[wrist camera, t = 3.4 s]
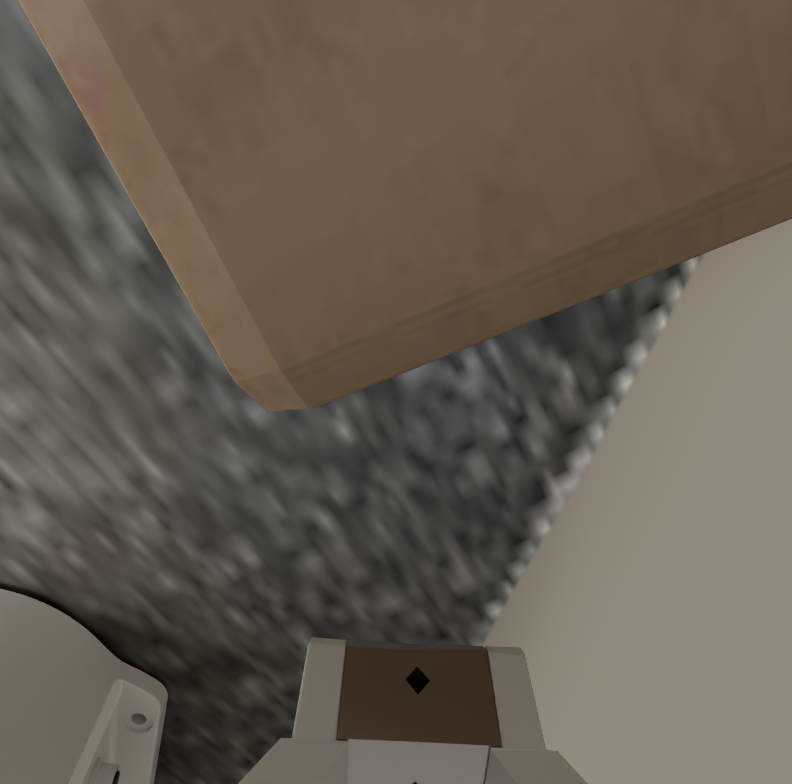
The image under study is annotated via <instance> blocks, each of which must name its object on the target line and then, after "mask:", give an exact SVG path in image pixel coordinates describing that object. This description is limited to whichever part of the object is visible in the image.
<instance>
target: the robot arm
mask: <svg viewBox="0 0 792 784" xmlns="http://www.w3.org/2000/svg"><path fill="white" fill-rule="evenodd" d="M167 700H168V693H167V690H166V688H165V687H164V686H163V685H162V683H160V682H159V681H158V680H156V679H155V678H153V677H151V676H150V675H148V674H146V673H144V672H142V671H140V670H138V669H136V668H134V667H132V666H130V665H128V664H126V663H124V662H122V661H121V660H119V659H118V658H117V657H115V656H114V655H113V654H112V653H111V652H110V651H109V650H108V649H107V648H106V647H105V646H104V645H103V644H102V643H101V642H100V641H99V640H98V639H97V638H96V637H95V636H94V635H93V634H92V633H90V632H89V631H88V630H87V629H86V628H84V627H83V626H82V625H81V624H79V623H78V622H76V621H75V620H74V619H72V618H71V617H69V616H67V615H66V614H64V613H63V612H61V611H59V610H57V609H55V608H53V607H51V606H49V605H47V604H45V603H43V602H41V601H38V600H36V599H33V598H30V597H28V596H25V595H22V594H18V593H15V592H11V591H7V590H3V589H0V784H154V780H155V774H156V768H157V762H158V755H159V749H160V743H161V737H162V731H163V725H164V719H165V713H166V707H167ZM238 784H587V783H586V782H585V781H584V780H583V778H582V777H581V776H580V775H579V774H578V773H577V772H576V771H575V770H574V769H573V768H572V767H571V766H570V764H569V763H568V762H567V761H566V760H565V759H564V758H563V757H562V756H561V755H560V754H559V753H558V751H550V750H546V748H545V744H544V739H543V735H542V730H541V725H540V721H539V717H538V712H537V708H536V703H535V699H534V695H533V690H532V686H531V681H530V677H529V672H528V668H527V663H526V659H525V655H524V652H523V651H522V650H521V648H513V647H488V646H486V647H485V648H484V647H483V646H460V645H434V644H405V643H391V642H378V641H365V640H351V639H347V640H340V639H328V638H315V637H311V640H310V642H309V644H308V648H307V654H306V660H305V665H304V671H303V677H302V683H301V688H300V694H299V700H298V705H297V711H296V717H295V723H294V728H293V734H292V738H280V739H279V740H278V741H277V742H276V743H275V745H274V746H273V747H272V748H271V749H270V750H269V751H268V752H267V753H266V754H265V755H264V756H263V757H262V758H261V759H260V761H259V762H258V763H257V764H256V765H255V766H254V767H253V768H252V769H251V770H250V771H249V772H248V773H247V774H246V775H245V776H244V778H243V779H242V780H241V781H240V782H239V783H238Z"/></svg>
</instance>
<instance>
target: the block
mask: <svg viewBox="0 0 792 784" xmlns="http://www.w3.org/2000/svg"><path fill="white" fill-rule="evenodd" d="M19 2H20V4H21V6H22V7H23V9H24V11H25V13H26V15H27V16H28V18H29V20H30V22H31V23H32V25H33V27H34V29H35V30H36V32H37V34H38V36H39V38H40V39H41V41H42V43H43V45H44V46H45V48H46V50H47V52H48V53H49V55H50V57H51V59H52V61H53V62H54V64H55V66H56V68H57V69H58V71H59V73H60V75H61V76H62V78H63V80H64V82H65V84H66V85H67V87H68V89H69V91H70V92H71V94H72V96H73V98H74V99H75V101H76V103H77V105H78V107H79V108H80V110H81V112H82V114H83V115H84V117H85V119H86V121H87V122H88V124H89V126H90V128H91V130H92V131H93V133H94V135H95V137H96V138H97V140H98V142H99V144H100V145H101V147H102V149H103V151H104V153H105V154H106V156H107V158H108V160H109V161H110V163H111V165H112V167H113V168H114V170H115V172H116V174H117V176H118V177H119V179H120V181H121V183H122V184H123V186H124V188H125V190H126V191H127V193H128V195H129V197H130V199H131V200H132V202H133V204H134V206H135V207H136V209H137V211H138V213H139V214H140V216H141V218H142V220H143V222H144V223H145V225H146V227H147V229H148V230H149V232H150V234H151V236H152V237H153V239H154V241H155V243H156V245H157V246H158V248H159V250H160V252H161V253H162V255H163V257H164V259H165V260H166V262H167V264H168V266H169V268H170V269H171V271H172V273H173V275H174V276H175V278H176V280H177V282H178V283H179V285H180V287H181V289H182V291H183V292H184V294H185V296H186V298H187V299H188V301H189V303H190V305H191V306H192V308H193V310H194V312H195V314H196V315H197V317H198V319H199V321H200V322H201V324H202V326H203V328H204V329H205V331H206V333H207V335H208V337H209V338H210V340H211V342H212V344H213V345H214V347H215V349H216V351H217V352H218V354H219V356H220V358H221V360H222V361H223V363H224V365H225V367H226V368H227V370H228V372H229V373H230V375H231V377H232V378H233V380H234V381H235V383H236V384H238V385H239V386H240V387H241V388H242V389H243V390H244V391H245V392H246V393H247V394H248V395H249V396H250V397H251V398H252V399H254V400H255V401H256V402H257V403H258V404H259V405H260V406H261V407H262V408H263V409H264V410H265V411H266V412H267V411H280V410H293V409H305V408H312V407H316V406H321V405H325V404H327V403H330V402H332V401H335V400H337V399H340V398H342V397H345V396H347V395H350V394H352V393H355V392H357V391H360V390H362V389H365V388H367V387H370V386H372V385H375V384H377V383H380V382H382V381H385V380H387V379H390V378H392V377H395V376H397V375H400V374H402V373H405V372H407V371H410V370H412V369H415V368H418V367H420V366H423V365H425V364H428V363H430V362H433V361H435V360H438V359H440V358H443V357H445V356H448V355H450V354H453V353H455V352H458V351H460V350H463V349H465V348H468V347H470V346H473V345H475V344H478V343H480V342H483V341H485V340H488V339H490V338H493V337H495V336H498V335H500V334H503V333H505V332H508V331H510V330H513V329H516V328H518V327H521V326H523V325H526V324H528V323H531V322H533V321H536V320H538V319H541V318H543V317H546V316H548V315H551V314H553V313H556V312H558V311H561V310H563V309H566V308H568V307H571V306H573V305H576V304H578V303H581V302H583V301H586V300H588V299H591V298H593V297H596V296H598V295H601V294H603V293H606V292H608V291H611V290H614V289H616V288H619V287H621V286H624V285H626V284H629V283H631V282H634V281H636V280H639V279H641V278H644V277H646V276H649V275H651V274H654V273H656V272H659V271H661V270H664V269H666V268H669V267H671V266H674V265H676V264H679V263H681V262H684V261H686V260H689V259H691V258H694V257H696V256H699V255H701V254H704V253H706V252H709V251H711V250H714V249H717V248H719V247H722V246H724V245H726V244H729V243H732V242H734V241H737V240H739V239H742V238H744V237H747V236H749V235H752V234H754V233H757V232H759V231H761V230H764V229H767V228H769V227H772V226H774V225H777V224H779V223H782V222H784V221H787V220H789V219H792V0H19Z"/></svg>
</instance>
